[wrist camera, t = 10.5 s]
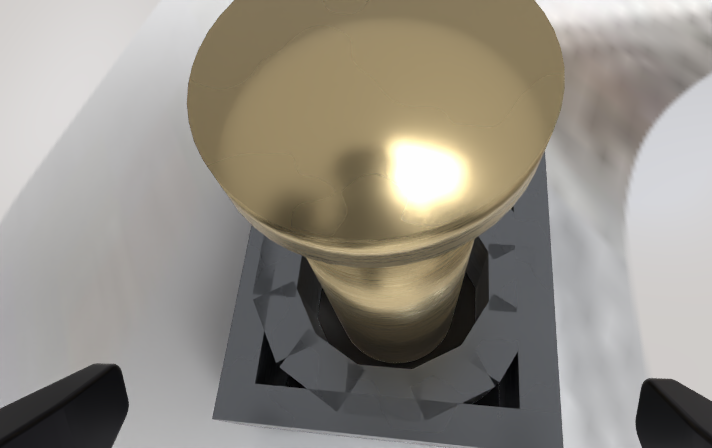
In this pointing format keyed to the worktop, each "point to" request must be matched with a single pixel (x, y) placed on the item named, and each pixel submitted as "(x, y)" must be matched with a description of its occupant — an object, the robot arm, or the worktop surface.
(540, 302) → the jig
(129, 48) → the worktop surface
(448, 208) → the brass flanged cylinder
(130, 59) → the worktop surface
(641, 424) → the robot arm
